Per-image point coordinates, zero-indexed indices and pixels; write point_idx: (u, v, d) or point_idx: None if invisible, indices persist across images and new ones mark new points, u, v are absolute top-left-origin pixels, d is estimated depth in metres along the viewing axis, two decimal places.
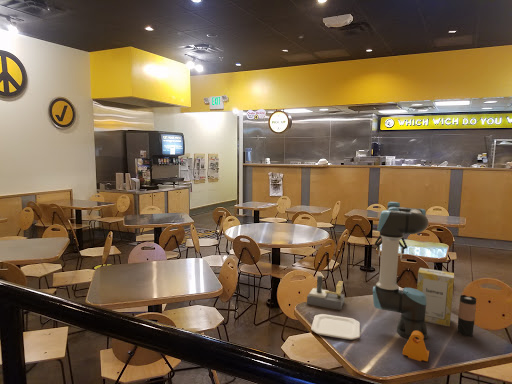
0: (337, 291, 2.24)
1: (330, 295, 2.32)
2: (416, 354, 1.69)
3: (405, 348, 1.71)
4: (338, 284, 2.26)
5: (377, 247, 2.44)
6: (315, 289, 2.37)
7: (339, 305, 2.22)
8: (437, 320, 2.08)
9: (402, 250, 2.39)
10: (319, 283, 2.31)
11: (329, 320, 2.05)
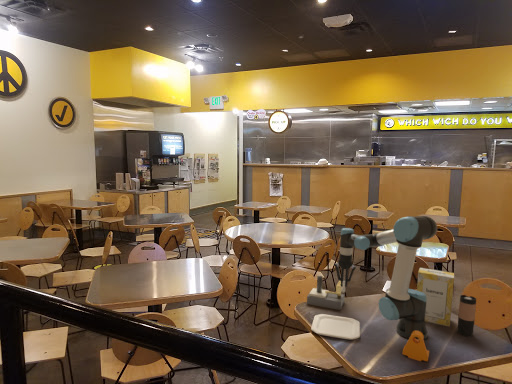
0: (337, 291, 2.24)
1: (330, 295, 2.32)
2: (416, 354, 1.69)
3: (405, 348, 1.71)
4: (338, 284, 2.26)
5: (341, 282, 2.23)
6: (315, 289, 2.37)
7: (339, 305, 2.22)
8: (437, 320, 2.08)
9: (345, 283, 2.22)
10: (319, 283, 2.31)
11: (329, 320, 2.05)
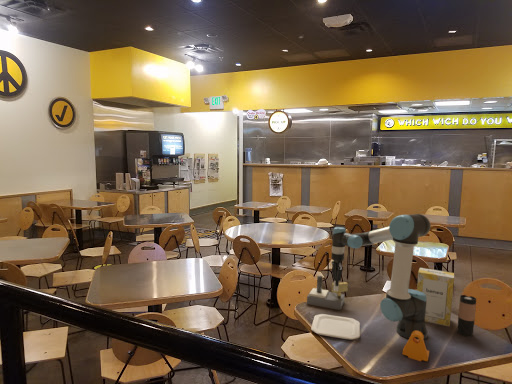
0: (332, 289, 2.27)
1: (330, 295, 2.32)
2: (416, 354, 1.69)
3: (405, 348, 1.71)
4: None
5: (334, 280, 2.26)
6: (315, 289, 2.37)
7: (339, 305, 2.22)
8: (437, 320, 2.08)
9: (335, 282, 2.23)
10: (319, 283, 2.31)
11: (329, 320, 2.05)
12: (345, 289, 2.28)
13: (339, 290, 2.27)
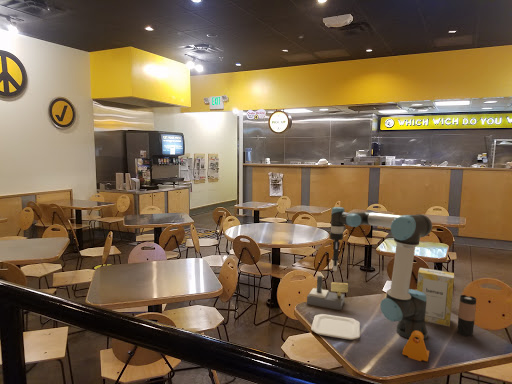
0: (331, 288, 2.29)
1: (330, 295, 2.32)
2: (416, 354, 1.69)
3: (405, 348, 1.71)
4: (335, 282, 2.29)
5: None
6: (315, 289, 2.37)
7: (339, 305, 2.22)
8: (437, 320, 2.08)
9: None
10: (319, 283, 2.31)
11: (329, 320, 2.05)
12: (345, 290, 2.27)
13: (338, 290, 2.27)
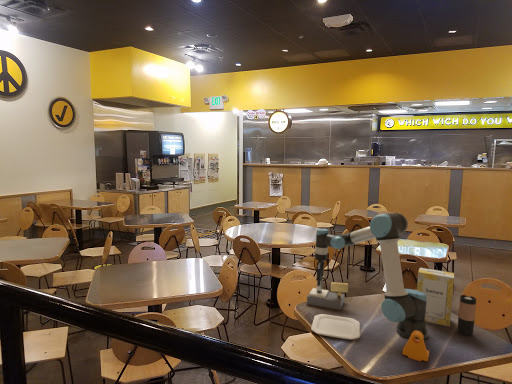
0: (331, 288, 2.29)
1: (330, 295, 2.32)
2: (416, 354, 1.69)
3: (405, 348, 1.71)
4: (335, 282, 2.29)
5: (319, 282, 2.29)
6: (315, 289, 2.37)
7: (339, 305, 2.22)
8: (437, 320, 2.08)
9: None
10: None
11: (329, 320, 2.05)
12: (345, 290, 2.27)
13: (338, 290, 2.27)
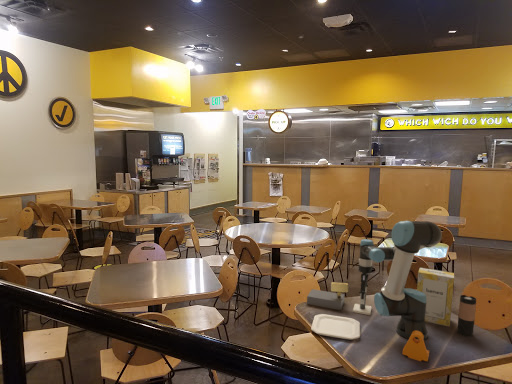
0: (331, 288, 2.29)
1: (330, 295, 2.32)
2: (415, 354, 1.69)
3: (405, 348, 1.71)
4: (335, 282, 2.29)
5: (363, 295, 2.15)
6: (357, 305, 2.27)
7: (339, 305, 2.22)
8: (437, 320, 2.08)
9: (365, 288, 2.28)
10: None
11: (329, 320, 2.05)
12: (345, 290, 2.27)
13: (338, 290, 2.27)
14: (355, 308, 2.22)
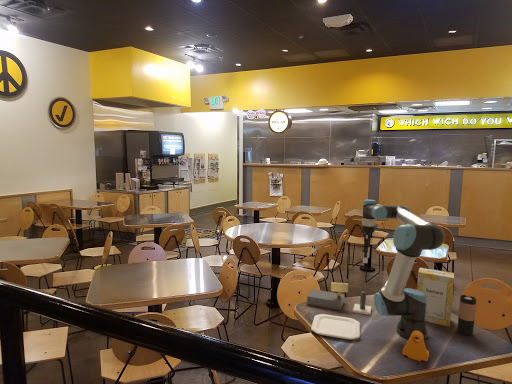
0: (331, 288, 2.29)
1: (330, 295, 2.32)
2: (415, 354, 1.69)
3: (405, 348, 1.71)
4: (335, 282, 2.29)
5: (366, 254, 2.14)
6: (357, 305, 2.27)
7: (339, 305, 2.22)
8: (437, 320, 2.08)
9: None
10: (363, 299, 2.21)
11: (329, 320, 2.05)
12: (345, 290, 2.27)
13: (338, 290, 2.27)
14: (355, 308, 2.22)
